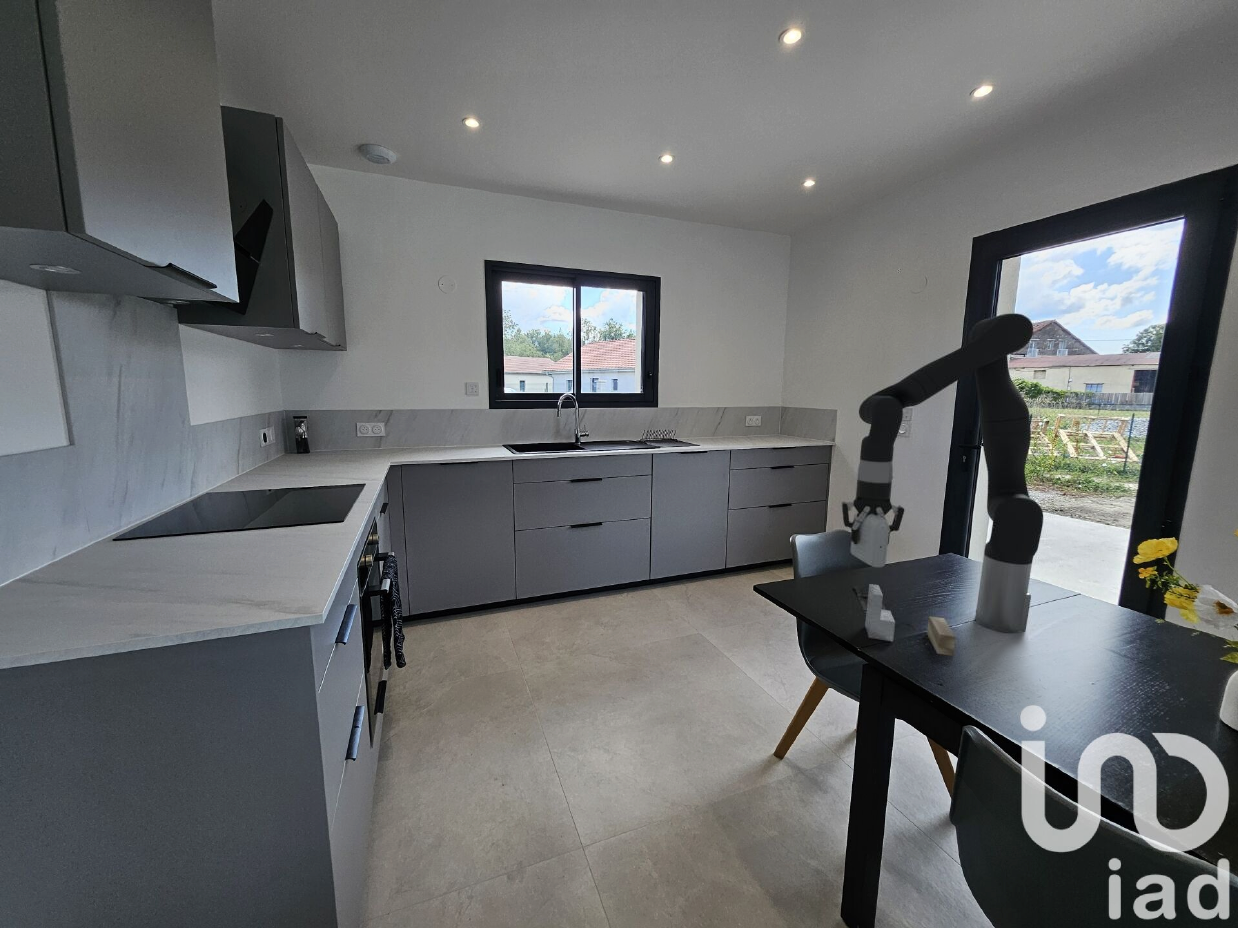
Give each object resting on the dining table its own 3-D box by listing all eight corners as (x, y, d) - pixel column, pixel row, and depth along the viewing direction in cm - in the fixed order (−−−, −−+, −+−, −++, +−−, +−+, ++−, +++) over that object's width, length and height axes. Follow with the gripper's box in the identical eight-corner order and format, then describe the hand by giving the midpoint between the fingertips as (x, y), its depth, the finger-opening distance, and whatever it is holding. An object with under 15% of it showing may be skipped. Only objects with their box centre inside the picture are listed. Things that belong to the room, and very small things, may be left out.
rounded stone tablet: (888, 567, 116) (893, 517, 114) (871, 568, 116) (876, 518, 114) (863, 553, 127) (867, 507, 125) (847, 553, 126) (851, 507, 124)
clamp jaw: (888, 629, 116) (892, 587, 115) (892, 641, 111) (897, 597, 109) (865, 625, 118) (869, 583, 116) (868, 637, 113) (873, 593, 111)
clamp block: (941, 636, 114) (943, 618, 113) (953, 655, 106) (955, 636, 105) (926, 633, 115) (929, 616, 114) (937, 653, 107) (939, 634, 106)
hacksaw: (852, 588, 142) (852, 583, 142) (891, 592, 139) (891, 587, 139) (870, 627, 119) (870, 621, 119) (917, 633, 116) (917, 627, 116)
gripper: (904, 477, 119) (898, 543, 122) (841, 474, 124) (836, 537, 126) (911, 483, 112) (904, 552, 115) (843, 479, 117) (838, 546, 119)
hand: (868, 544), depth 121 cm, fingers closed on rounded stone tablet, 5 cm apart
